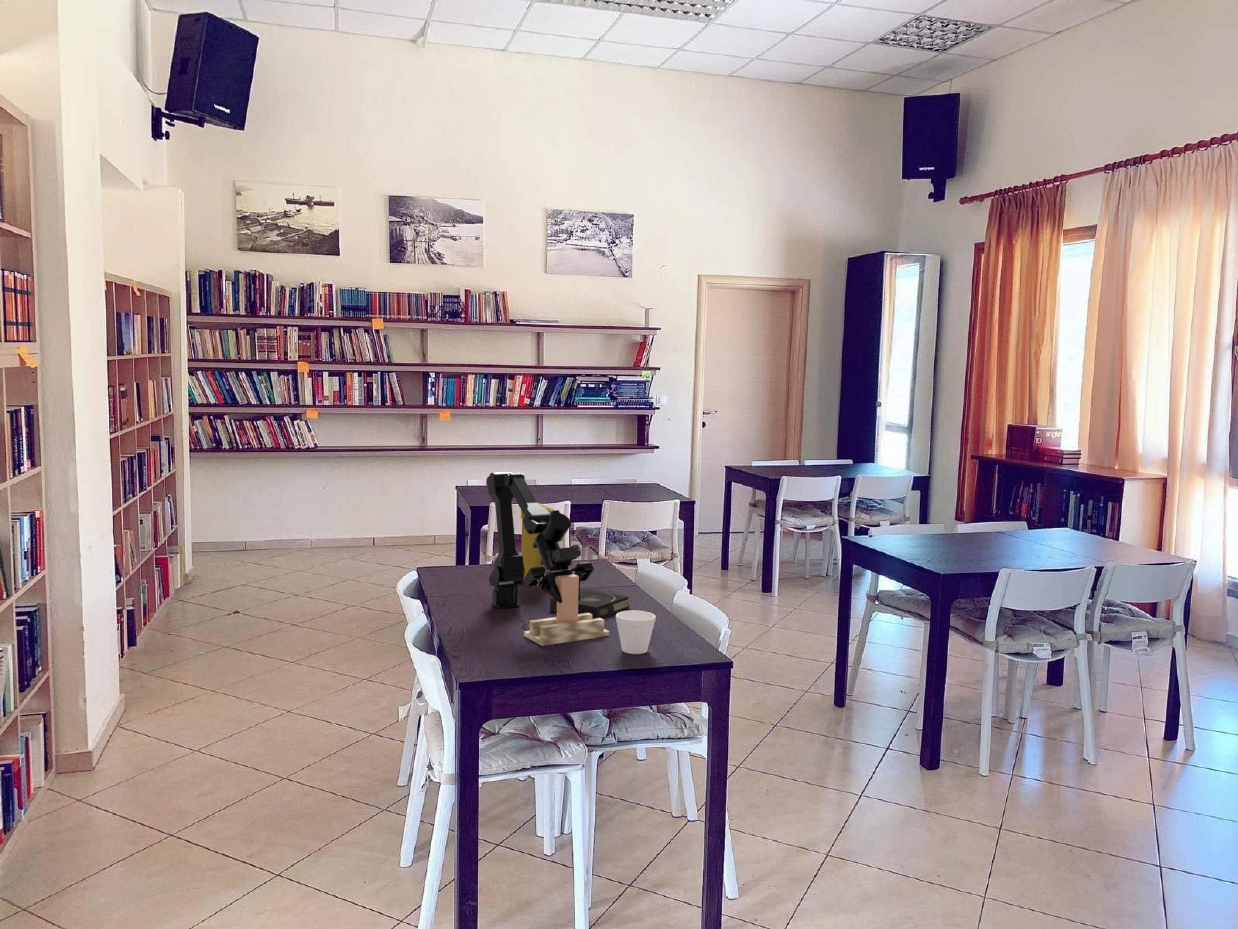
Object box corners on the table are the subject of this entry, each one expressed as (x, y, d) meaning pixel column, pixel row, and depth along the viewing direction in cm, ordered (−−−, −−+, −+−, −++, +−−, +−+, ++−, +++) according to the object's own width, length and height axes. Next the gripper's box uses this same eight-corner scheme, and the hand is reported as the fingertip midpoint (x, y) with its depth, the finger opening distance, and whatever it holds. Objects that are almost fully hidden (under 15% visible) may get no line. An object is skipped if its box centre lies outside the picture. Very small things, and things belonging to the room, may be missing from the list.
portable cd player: (598, 621, 261) (598, 607, 260) (549, 611, 270) (550, 598, 270) (629, 610, 275) (630, 597, 274) (582, 601, 284) (582, 588, 283)
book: (519, 577, 312) (521, 503, 309) (538, 576, 315) (540, 503, 312) (536, 588, 296) (538, 511, 294) (556, 587, 299) (558, 510, 297)
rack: (589, 626, 253) (589, 611, 253) (609, 635, 245) (609, 620, 245) (523, 636, 242) (524, 620, 242) (542, 645, 234) (542, 629, 234)
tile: (556, 625, 243) (557, 576, 242) (572, 622, 246) (574, 574, 245) (560, 627, 241) (562, 578, 240) (577, 624, 244) (578, 576, 243)
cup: (613, 645, 236) (614, 610, 235) (652, 646, 237) (653, 610, 236) (616, 657, 226) (617, 620, 225) (656, 658, 227) (658, 620, 226)
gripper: (530, 537, 240) (549, 588, 231) (591, 532, 250) (612, 580, 242) (515, 561, 247) (534, 611, 239) (576, 555, 257) (595, 603, 249)
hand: (570, 601), depth 242 cm, fingers closed on tile, 5 cm apart
